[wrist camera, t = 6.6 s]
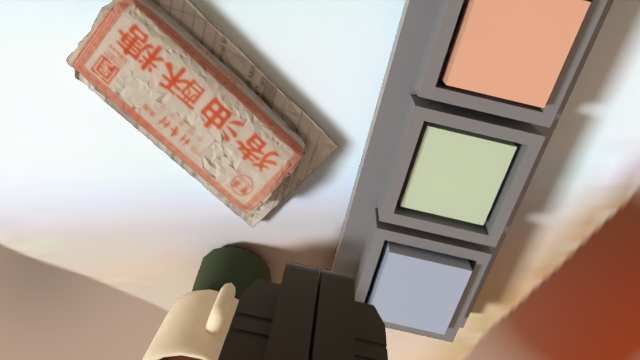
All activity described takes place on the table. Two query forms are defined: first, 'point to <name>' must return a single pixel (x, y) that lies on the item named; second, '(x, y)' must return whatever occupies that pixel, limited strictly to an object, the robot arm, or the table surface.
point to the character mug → (207, 307)
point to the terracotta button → (513, 47)
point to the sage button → (455, 173)
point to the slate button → (418, 287)
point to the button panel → (457, 112)
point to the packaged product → (200, 102)
